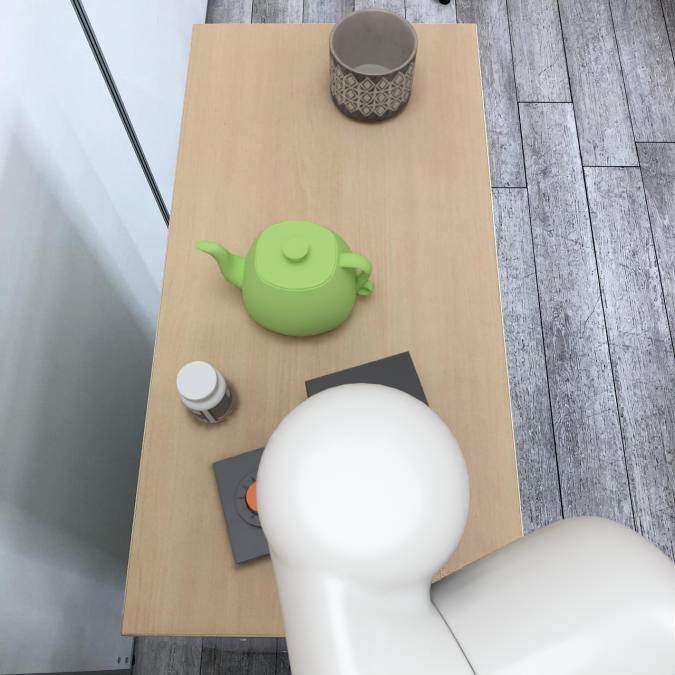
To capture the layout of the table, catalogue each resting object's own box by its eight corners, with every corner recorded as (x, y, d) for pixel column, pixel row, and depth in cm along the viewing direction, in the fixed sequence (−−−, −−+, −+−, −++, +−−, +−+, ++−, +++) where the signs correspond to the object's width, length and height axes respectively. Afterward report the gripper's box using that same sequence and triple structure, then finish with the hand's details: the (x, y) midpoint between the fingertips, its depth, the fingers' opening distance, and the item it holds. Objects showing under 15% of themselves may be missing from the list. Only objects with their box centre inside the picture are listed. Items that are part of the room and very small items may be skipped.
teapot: (205, 338, 84) (183, 296, 72) (221, 241, 90) (202, 186, 77) (370, 349, 83) (375, 309, 71) (375, 250, 89) (381, 197, 77)
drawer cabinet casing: (440, 485, 77) (453, 471, 68) (342, 516, 76) (342, 506, 67) (401, 376, 82) (408, 350, 73) (308, 403, 81) (304, 381, 72)
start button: (282, 508, 72) (281, 506, 71) (252, 517, 72) (250, 516, 70) (274, 478, 74) (273, 475, 72) (244, 487, 73) (242, 485, 72)
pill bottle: (229, 376, 82) (215, 349, 73) (240, 417, 80) (227, 395, 71) (186, 389, 82) (166, 364, 72) (196, 430, 80) (177, 410, 70)
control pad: (320, 538, 75) (319, 536, 71) (238, 564, 74) (233, 563, 70) (293, 442, 79) (291, 435, 75) (215, 466, 78) (209, 460, 74)
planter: (352, 52, 102) (353, -3, 93) (423, 79, 100) (432, 25, 91) (316, 108, 98) (313, 55, 89) (389, 137, 96) (395, 87, 86)
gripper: (467, 407, 34) (425, 468, 51) (195, 490, 32) (246, 524, 49) (522, 547, 31) (458, 562, 48) (229, 645, 30) (270, 624, 47)
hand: (351, 543), depth 49 cm, fingers closed
